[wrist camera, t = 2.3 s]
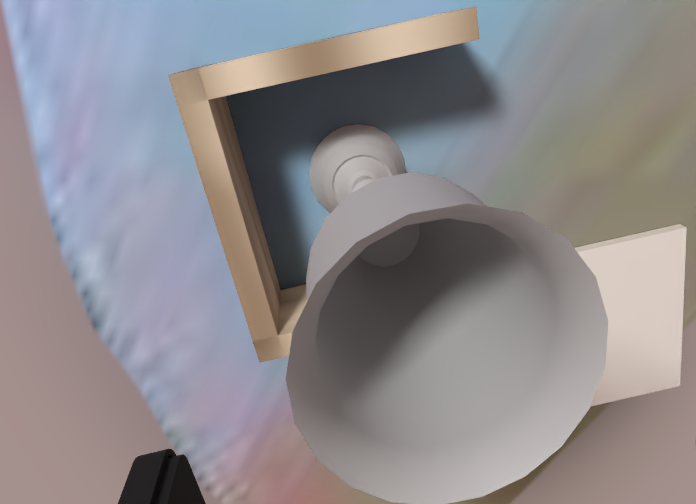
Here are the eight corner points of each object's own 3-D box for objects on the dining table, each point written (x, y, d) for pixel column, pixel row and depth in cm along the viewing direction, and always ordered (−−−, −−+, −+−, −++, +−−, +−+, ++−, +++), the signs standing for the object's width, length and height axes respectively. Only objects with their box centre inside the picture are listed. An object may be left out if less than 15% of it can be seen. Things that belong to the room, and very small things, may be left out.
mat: (679, 224, 31) (686, 227, 30) (674, 380, 35) (680, 385, 34) (492, 266, 30) (496, 270, 30) (509, 418, 35) (512, 424, 34)
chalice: (290, 100, 26) (280, 205, 9) (426, 101, 27) (642, 201, 10) (293, 241, 29) (290, 514, 12) (417, 238, 29) (575, 497, 13)
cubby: (443, 12, 25) (476, 6, 21) (474, 265, 30) (506, 306, 26) (191, 68, 25) (167, 75, 21) (265, 313, 30) (259, 362, 26)
